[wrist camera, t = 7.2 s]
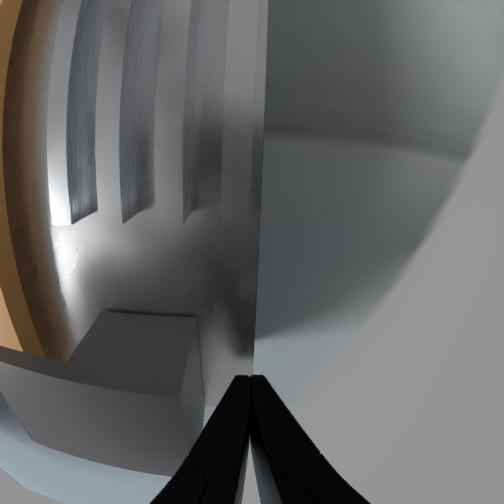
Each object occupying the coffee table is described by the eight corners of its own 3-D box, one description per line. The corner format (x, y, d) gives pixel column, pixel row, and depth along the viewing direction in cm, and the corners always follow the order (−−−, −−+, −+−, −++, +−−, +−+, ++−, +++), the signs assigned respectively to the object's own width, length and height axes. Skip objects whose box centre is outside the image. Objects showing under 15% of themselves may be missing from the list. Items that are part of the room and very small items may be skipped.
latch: (31, 302, 8) (-20, 354, 5) (196, 317, 8) (179, 397, 5) (62, 386, 9) (33, 441, 7) (204, 407, 10) (197, 479, 7)
